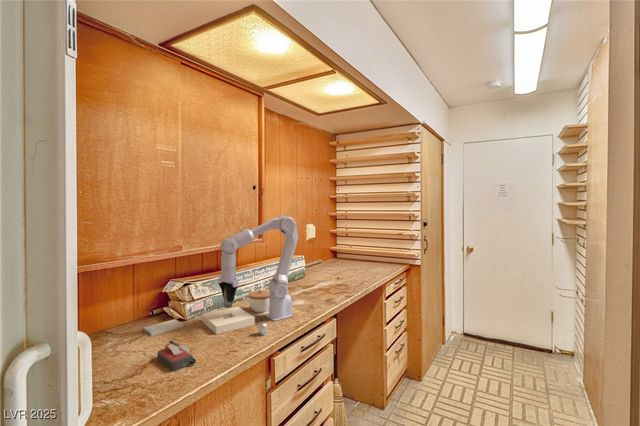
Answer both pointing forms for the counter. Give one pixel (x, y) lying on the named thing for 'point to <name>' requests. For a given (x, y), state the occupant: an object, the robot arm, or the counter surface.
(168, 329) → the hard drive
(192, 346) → the counter surface
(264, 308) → the lidded jar
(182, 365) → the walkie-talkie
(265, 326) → the short pin
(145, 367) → the counter surface
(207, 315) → the hole block
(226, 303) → the tall pin
